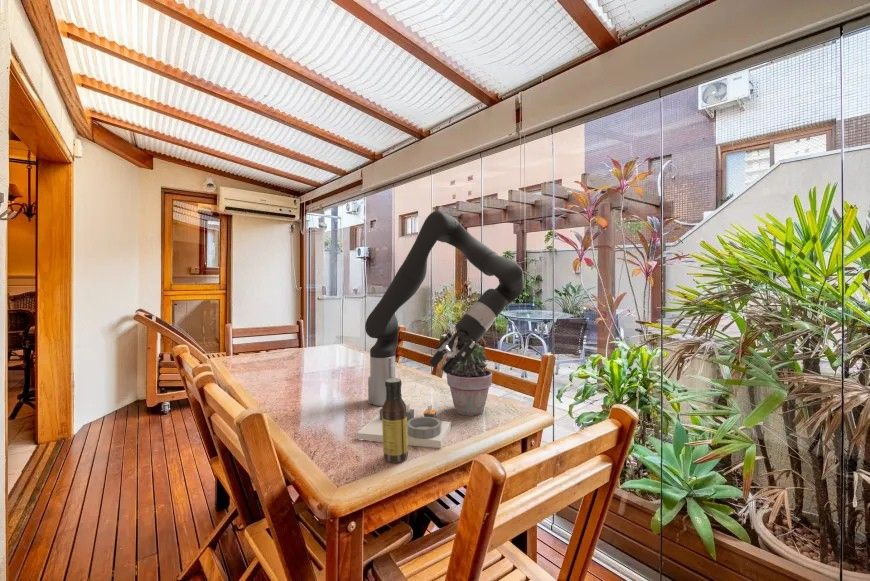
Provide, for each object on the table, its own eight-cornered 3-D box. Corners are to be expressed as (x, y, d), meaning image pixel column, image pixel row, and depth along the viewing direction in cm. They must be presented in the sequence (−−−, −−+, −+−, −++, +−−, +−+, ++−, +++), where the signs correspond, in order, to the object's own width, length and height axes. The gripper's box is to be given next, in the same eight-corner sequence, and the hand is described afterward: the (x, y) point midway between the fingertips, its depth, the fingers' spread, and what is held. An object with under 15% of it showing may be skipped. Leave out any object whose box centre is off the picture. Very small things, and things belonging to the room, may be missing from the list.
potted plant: (433, 417, 123) (432, 341, 123) (452, 400, 142) (452, 333, 141) (487, 425, 117) (487, 344, 116) (500, 405, 135) (500, 336, 134)
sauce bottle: (398, 450, 100) (398, 375, 99) (412, 458, 95) (412, 379, 94) (377, 457, 95) (377, 379, 95) (391, 466, 91) (390, 384, 90)
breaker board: (357, 440, 106) (357, 414, 106) (376, 422, 120) (376, 399, 120) (440, 448, 101) (440, 421, 100) (450, 428, 114) (450, 404, 114)
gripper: (455, 311, 109) (418, 354, 105) (480, 314, 96) (439, 364, 91) (472, 328, 111) (436, 371, 107) (498, 334, 98) (459, 383, 94)
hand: (437, 368), depth 99 cm, fingers open, 8 cm apart
